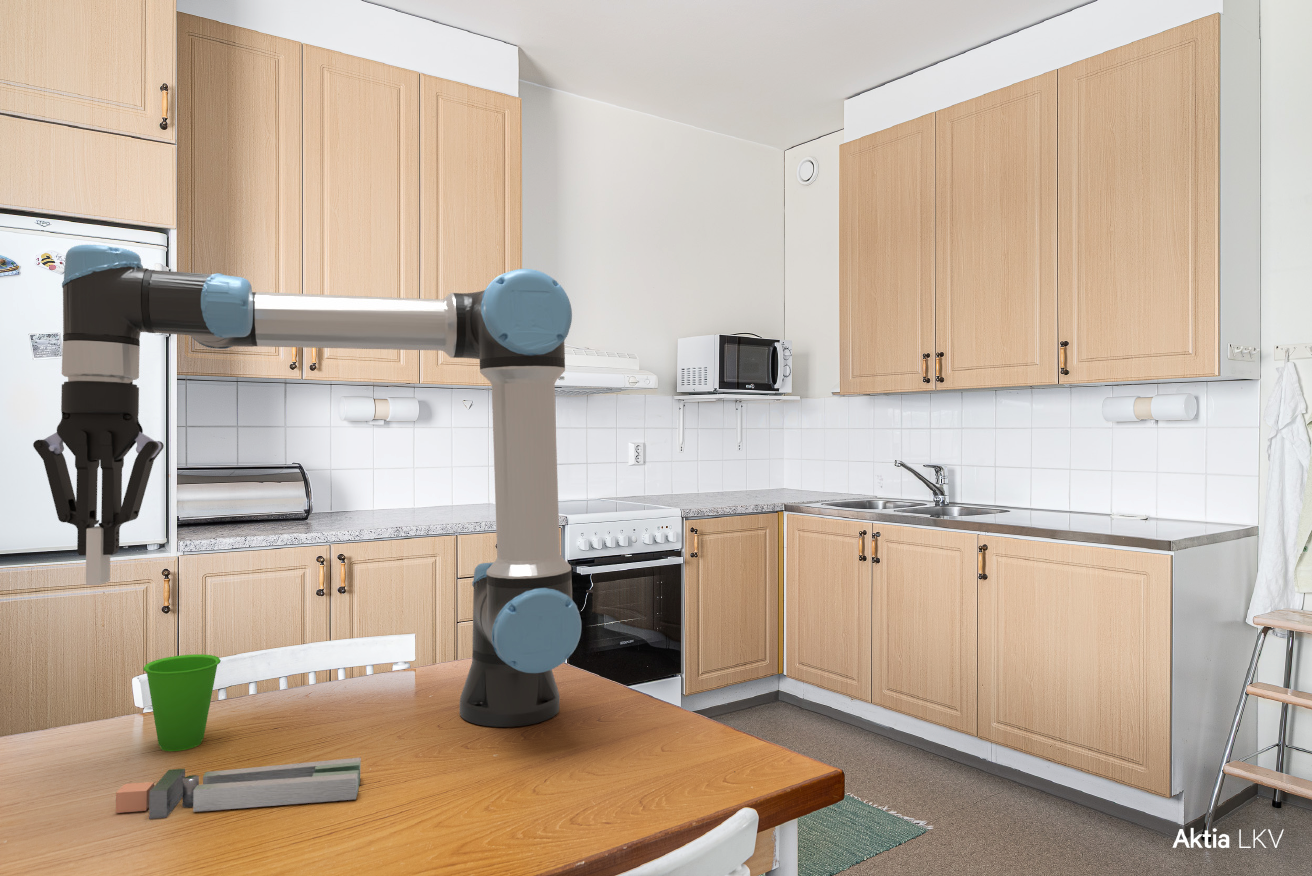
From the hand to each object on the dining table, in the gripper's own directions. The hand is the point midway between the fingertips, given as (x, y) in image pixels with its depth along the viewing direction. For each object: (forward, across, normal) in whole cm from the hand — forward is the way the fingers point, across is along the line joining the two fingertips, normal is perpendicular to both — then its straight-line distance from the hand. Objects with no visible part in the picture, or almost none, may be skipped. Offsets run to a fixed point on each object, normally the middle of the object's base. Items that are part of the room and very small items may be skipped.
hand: (97, 582), depth 97 cm
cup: (+25, -5, -14) cm, 29 cm away
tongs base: (+24, -19, +6) cm, 32 cm away
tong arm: (+24, -21, +4) cm, 32 cm away
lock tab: (+24, -6, +6) cm, 26 cm away
